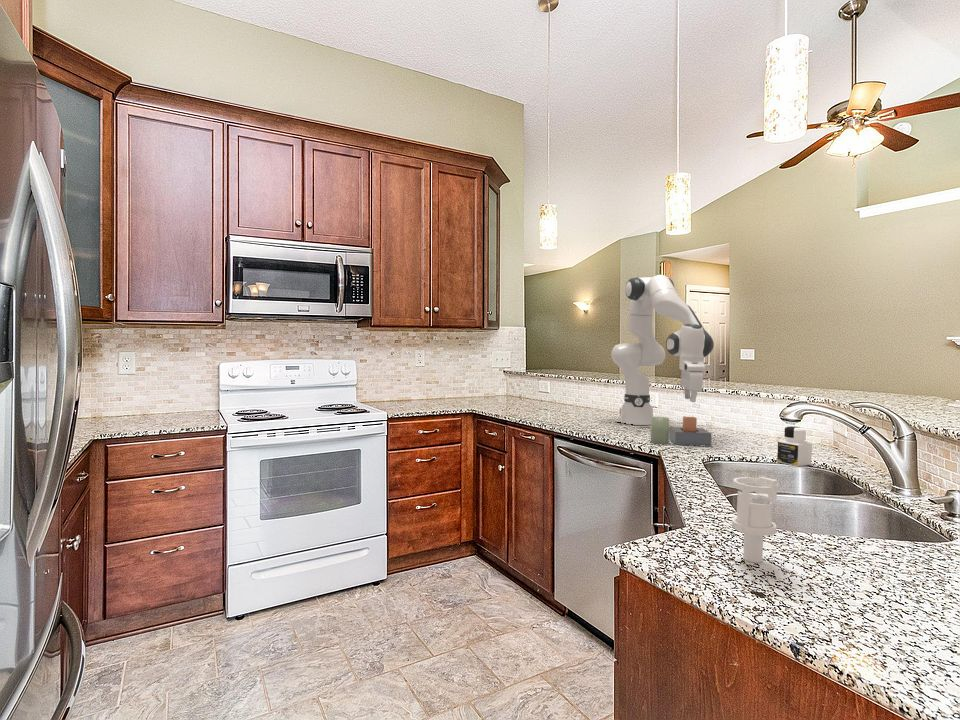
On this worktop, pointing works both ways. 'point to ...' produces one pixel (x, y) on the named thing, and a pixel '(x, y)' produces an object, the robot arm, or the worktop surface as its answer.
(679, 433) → the bore block
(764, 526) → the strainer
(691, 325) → the robot arm
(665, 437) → the green rectangular block
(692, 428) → the square bit
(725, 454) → the worktop surface
